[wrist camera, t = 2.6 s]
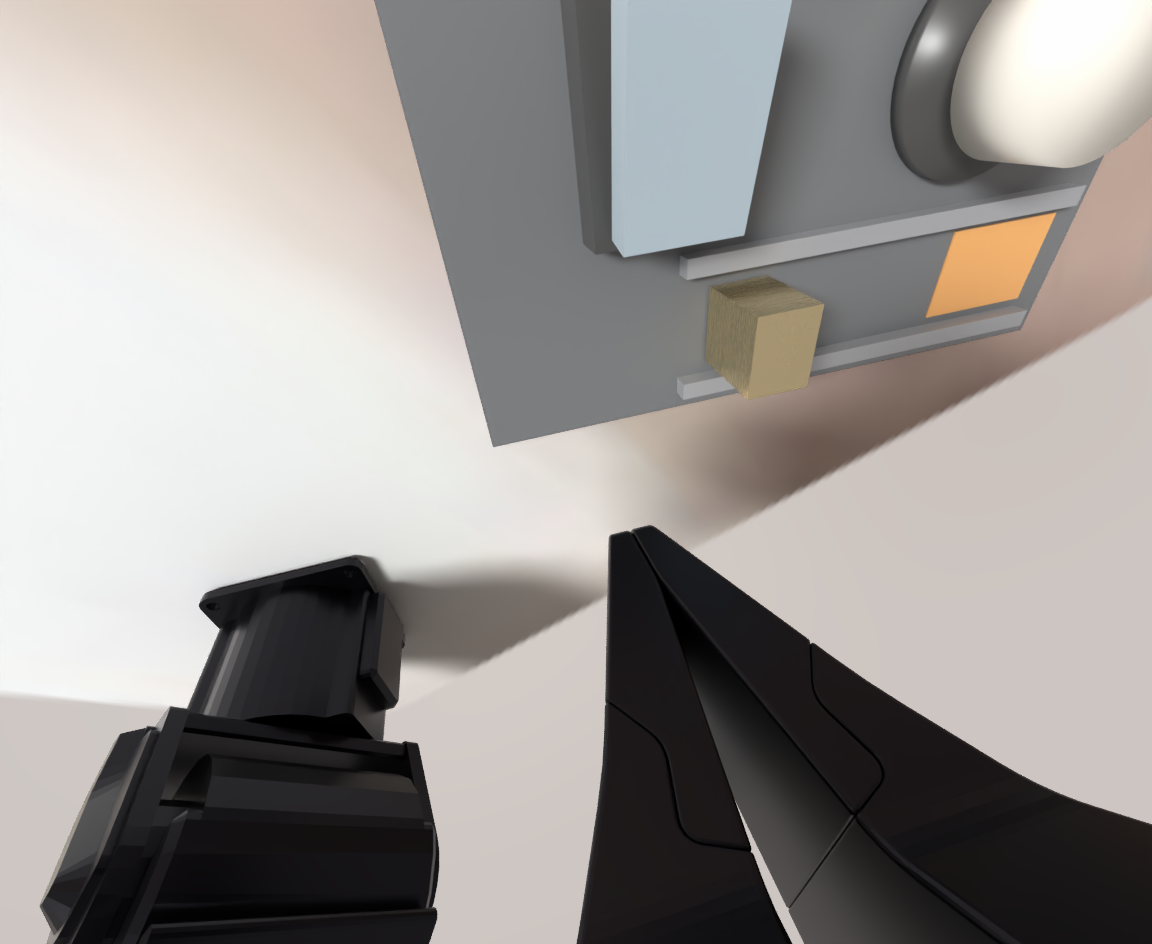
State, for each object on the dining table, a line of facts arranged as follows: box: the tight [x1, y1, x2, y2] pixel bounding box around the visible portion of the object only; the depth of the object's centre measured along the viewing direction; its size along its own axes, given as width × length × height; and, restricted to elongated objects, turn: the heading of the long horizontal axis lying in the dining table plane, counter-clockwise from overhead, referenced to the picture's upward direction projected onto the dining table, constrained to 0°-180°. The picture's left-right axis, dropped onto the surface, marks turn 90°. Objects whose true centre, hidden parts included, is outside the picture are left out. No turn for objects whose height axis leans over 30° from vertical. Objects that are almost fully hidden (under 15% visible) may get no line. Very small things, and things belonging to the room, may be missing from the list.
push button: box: [950, 0, 1152, 168], centre depth 12 cm, size 4×4×2 cm
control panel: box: [374, 0, 1104, 447], centre depth 15 cm, size 22×12×3 cm, turn 97°
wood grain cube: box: [705, 275, 824, 400], centre depth 15 cm, size 2×3×3 cm
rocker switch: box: [611, 0, 792, 257], centre depth 10 cm, size 3×5×1 cm, turn 7°
